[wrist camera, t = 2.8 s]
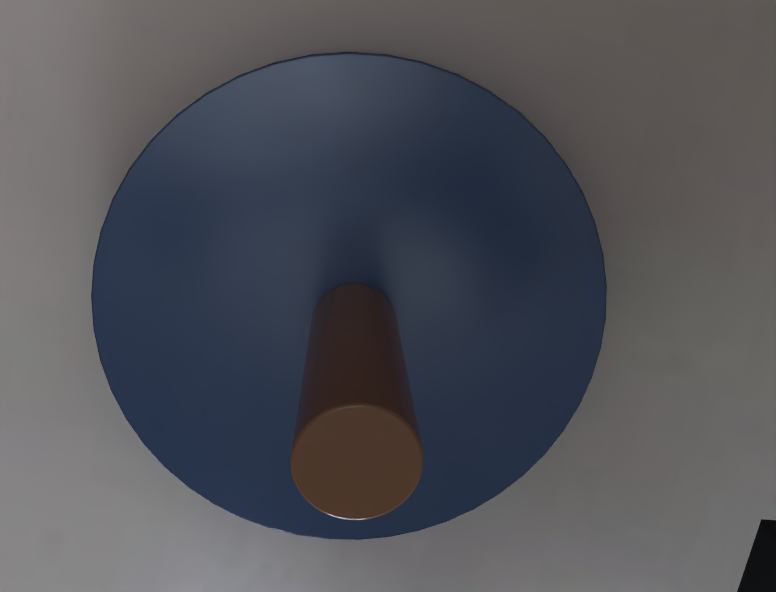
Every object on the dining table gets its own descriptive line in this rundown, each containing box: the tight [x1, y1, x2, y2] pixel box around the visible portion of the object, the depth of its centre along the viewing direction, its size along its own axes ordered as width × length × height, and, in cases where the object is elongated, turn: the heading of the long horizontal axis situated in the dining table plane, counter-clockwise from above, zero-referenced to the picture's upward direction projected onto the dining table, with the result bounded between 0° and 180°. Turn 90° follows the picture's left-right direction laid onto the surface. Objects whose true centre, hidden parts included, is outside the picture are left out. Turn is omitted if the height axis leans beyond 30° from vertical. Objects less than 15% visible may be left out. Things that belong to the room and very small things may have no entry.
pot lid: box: [91, 52, 607, 540], centre depth 18 cm, size 16×16×9 cm
